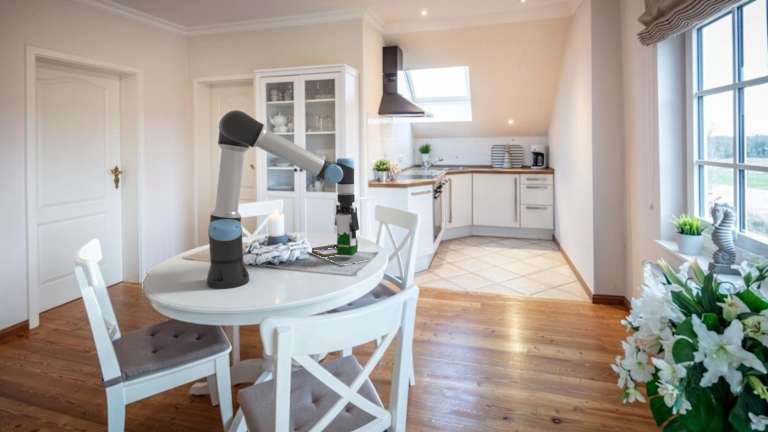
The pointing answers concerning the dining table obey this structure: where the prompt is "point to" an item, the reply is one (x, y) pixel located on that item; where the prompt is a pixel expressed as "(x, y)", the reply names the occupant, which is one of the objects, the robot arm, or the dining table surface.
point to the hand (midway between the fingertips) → (346, 243)
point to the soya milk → (345, 235)
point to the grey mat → (347, 259)
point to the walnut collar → (324, 248)
